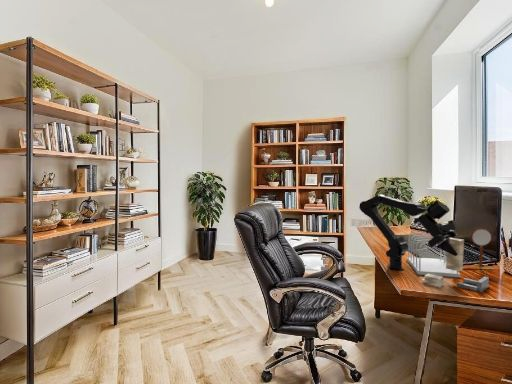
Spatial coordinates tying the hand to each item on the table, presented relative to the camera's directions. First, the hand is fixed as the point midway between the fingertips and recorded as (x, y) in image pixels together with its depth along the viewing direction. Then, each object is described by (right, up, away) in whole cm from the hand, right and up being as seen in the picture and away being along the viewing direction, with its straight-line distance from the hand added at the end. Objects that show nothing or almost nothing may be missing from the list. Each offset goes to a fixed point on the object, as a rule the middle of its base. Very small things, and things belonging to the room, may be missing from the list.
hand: (458, 254), depth 128 cm
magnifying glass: (+24, -11, +19) cm, 32 cm away
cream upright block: (-1, -7, +1) cm, 7 cm away
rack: (+3, -13, -3) cm, 13 cm away
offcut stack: (-10, -13, +1) cm, 17 cm away
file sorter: (+1, -12, +21) cm, 24 cm away
